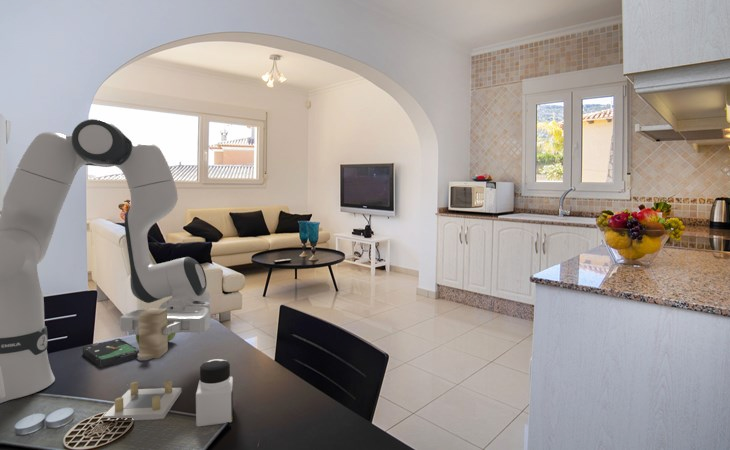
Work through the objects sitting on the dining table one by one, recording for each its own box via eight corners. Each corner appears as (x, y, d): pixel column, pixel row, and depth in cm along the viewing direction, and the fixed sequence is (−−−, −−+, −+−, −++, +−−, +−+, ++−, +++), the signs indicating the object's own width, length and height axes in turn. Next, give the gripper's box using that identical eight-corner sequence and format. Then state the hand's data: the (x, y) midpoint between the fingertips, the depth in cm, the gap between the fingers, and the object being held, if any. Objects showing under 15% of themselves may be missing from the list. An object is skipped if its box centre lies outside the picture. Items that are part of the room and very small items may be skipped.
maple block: (139, 357, 93) (138, 313, 92) (148, 350, 97) (148, 308, 96) (159, 357, 93) (158, 314, 92) (167, 350, 97) (167, 308, 97)
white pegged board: (103, 421, 87) (102, 404, 87) (128, 394, 99) (128, 379, 98) (163, 418, 88) (163, 402, 88) (181, 392, 100) (181, 377, 100)
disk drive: (81, 356, 123) (101, 369, 113) (81, 347, 123) (100, 359, 113) (119, 346, 131) (140, 358, 122) (119, 338, 131) (140, 348, 121)
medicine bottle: (232, 422, 87) (232, 367, 86) (196, 427, 85) (195, 371, 84) (233, 406, 94) (232, 354, 93) (199, 410, 92) (198, 357, 91)
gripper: (135, 301, 107) (104, 317, 93) (216, 302, 108) (196, 318, 94) (136, 325, 107) (104, 344, 94) (216, 326, 108) (196, 345, 94)
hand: (151, 331), depth 94 cm, fingers closed on maple block, 4 cm apart
